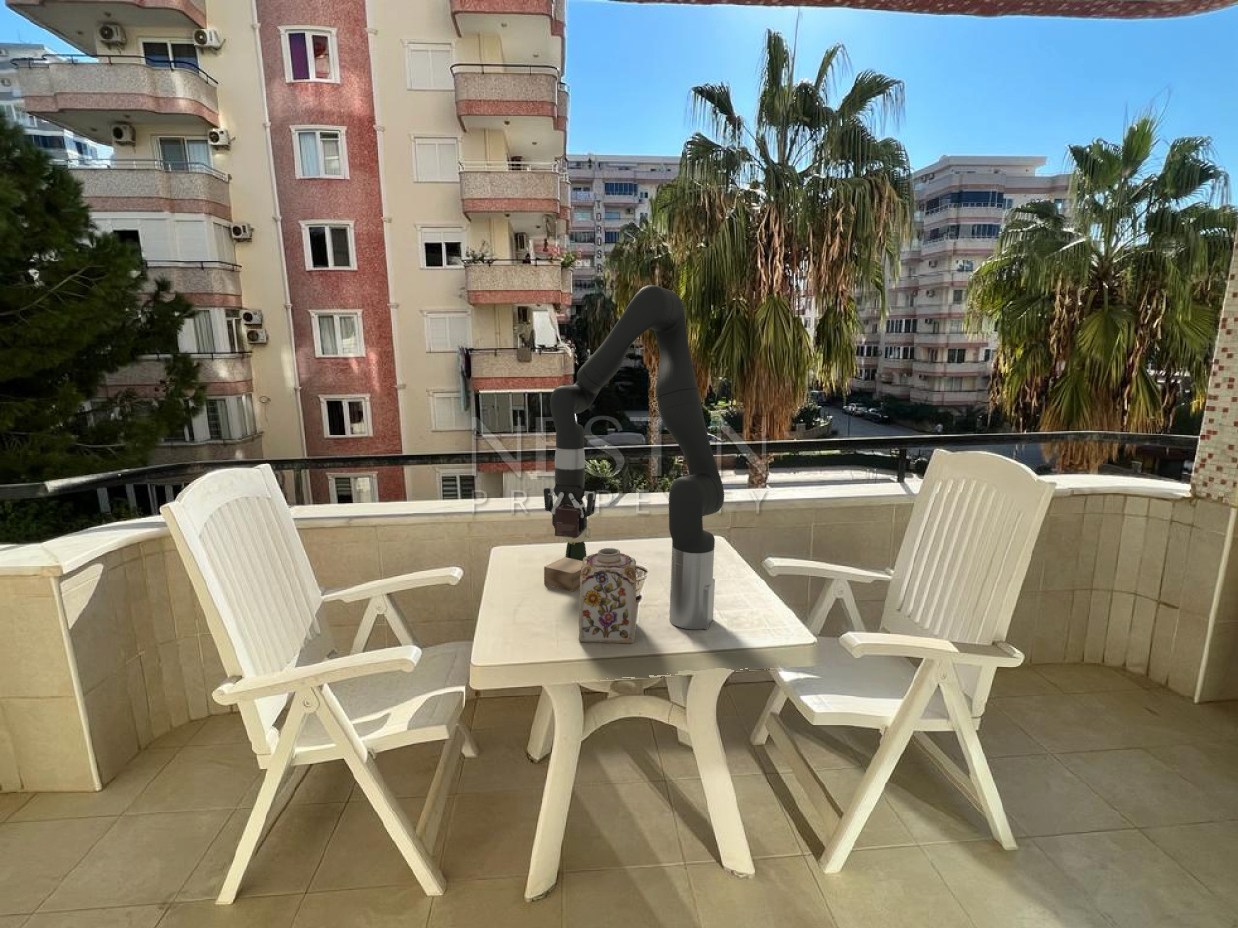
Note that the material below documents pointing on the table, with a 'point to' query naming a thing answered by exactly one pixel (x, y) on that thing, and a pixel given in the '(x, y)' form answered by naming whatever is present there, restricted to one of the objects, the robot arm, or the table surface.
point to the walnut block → (563, 574)
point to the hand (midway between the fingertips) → (569, 529)
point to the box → (567, 521)
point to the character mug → (578, 544)
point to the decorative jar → (607, 597)
